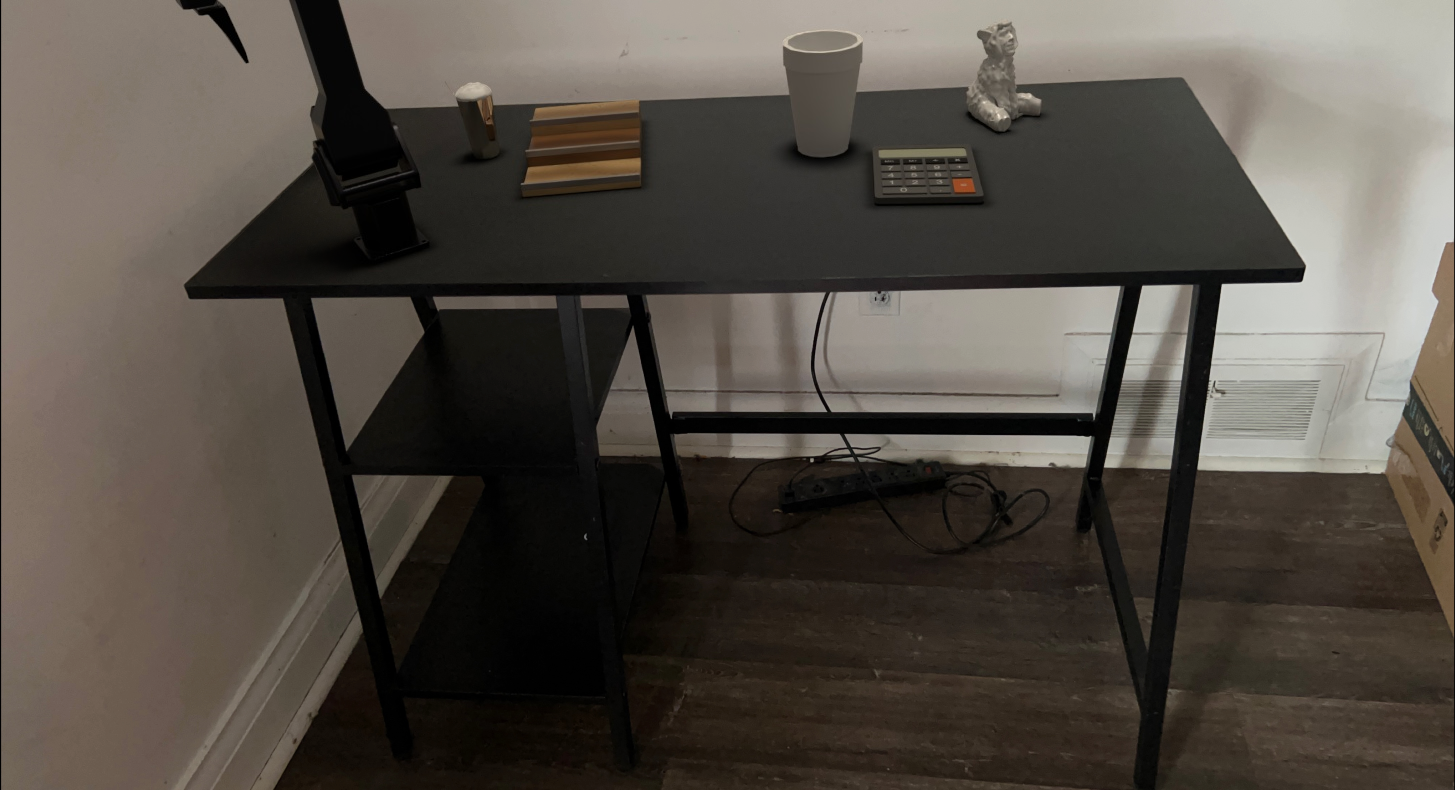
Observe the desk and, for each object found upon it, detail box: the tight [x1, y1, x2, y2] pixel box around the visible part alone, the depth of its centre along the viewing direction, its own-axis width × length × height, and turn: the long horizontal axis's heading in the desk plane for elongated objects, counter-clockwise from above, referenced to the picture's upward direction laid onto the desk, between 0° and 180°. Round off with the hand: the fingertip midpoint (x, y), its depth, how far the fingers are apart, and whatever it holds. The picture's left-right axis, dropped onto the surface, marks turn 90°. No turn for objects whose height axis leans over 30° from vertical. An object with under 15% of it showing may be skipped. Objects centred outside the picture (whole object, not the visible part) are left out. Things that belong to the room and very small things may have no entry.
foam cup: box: [782, 29, 864, 158], centre depth 116 cm, size 10×9×13 cm
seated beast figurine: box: [965, 18, 1043, 133], centre depth 121 cm, size 10×9×12 cm
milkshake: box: [444, 81, 500, 160], centre depth 121 cm, size 4×5×10 cm
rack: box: [520, 99, 643, 198], centre depth 120 cm, size 22×14×4 cm, turn 4°
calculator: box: [872, 143, 985, 205], centre depth 110 cm, size 12×1×15 cm
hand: (286, 54), depth 115 cm, fingers open, 9 cm apart
